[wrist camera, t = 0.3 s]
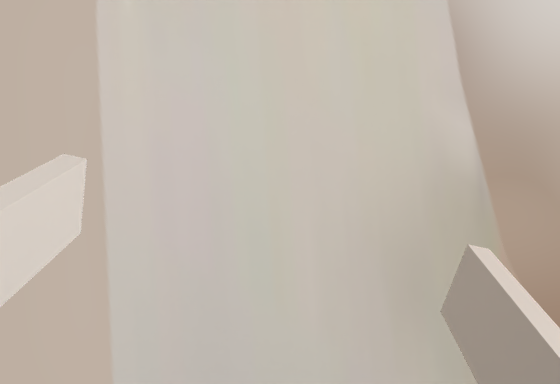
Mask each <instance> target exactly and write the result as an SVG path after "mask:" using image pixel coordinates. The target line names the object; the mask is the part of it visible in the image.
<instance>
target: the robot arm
mask: <svg viewBox="0 0 560 384" xmlns="http://www.w3.org/2000/svg"><path fill="white" fill-rule="evenodd" d="M86 163H87V159H85V158H81V157H76V156H72V155H67V154H62V155H60V156H58V157H57V158H55V159H53V160H51V161H49V162H47V163H45V164H43V165H41V166H39V167H37V168H35V169H33V170H31V171H30V172H28V173H26V174H24V175H22V176H20V177H18V178H16V179H14V180H12V181H10V182H8V183H6V184H5V185H2V186H0V307H1V306H2V305H3V304H4V303H5V302H6V301H8V300H9V299H10V298H11V297H12V296H13V295H14V294H15V293H16V292H17V291H18V290H19V289H21V288H22V287H23V286H24V285H25V284H26V283H27V282H28V281H29V280H30V279H31V278H32V277H33V276H34V275H36V274H37V273H38V272H39V271H40V270H41V269H42V268H43V267H44V266H45V265H46V264H48V263H49V262H50V261H51V260H52V259H53V258H54V257H55V256H56V255H57V254H58V253H59V252H60V251H62V250H63V249H64V248H65V247H66V246H67V245H68V244H69V243H70V242H71V241H72V240H74V239H75V238H76V237H77V236H78V235H79V234H80V233H81V221H82V210H83V198H84V187H85V175H86ZM441 313H442V315H443V317H444V319H445V321H446V323H447V325H448V327H449V329H450V331H451V333H452V335H453V336H454V338H455V340H456V342H457V344H458V346H459V348H460V350H461V352H462V354H463V356H464V358H465V360H466V362H467V364H468V366H469V367H470V369H471V371H472V373H473V375H474V377H475V379H476V381H477V383H478V384H560V328H559V327H558V326H557V325H556V324H555V323H554V322H553V320H552V319H551V318H550V317H549V316H548V315H547V314H546V312H545V311H544V310H543V309H542V308H541V307H540V306H539V305H538V303H537V302H536V301H535V300H534V299H533V298H532V297H531V296H530V294H529V293H528V292H527V291H526V290H525V289H524V288H523V287H522V285H521V284H520V283H519V282H518V281H517V280H516V279H515V278H514V276H513V275H512V274H511V273H510V272H509V271H508V270H507V269H506V267H505V266H504V265H503V264H502V263H501V262H500V261H499V260H498V258H497V257H496V256H495V255H494V254H493V253H492V252H491V251H490V249H487V248H482V247H478V246H473V245H469V244H468V245H467V247H466V250H465V252H464V255H463V257H462V259H461V262H460V264H459V267H458V269H457V272H456V274H455V277H454V279H453V282H452V284H451V287H450V289H449V292H448V294H447V296H446V299H445V301H444V304H443V306H442V309H441Z"/></svg>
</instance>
